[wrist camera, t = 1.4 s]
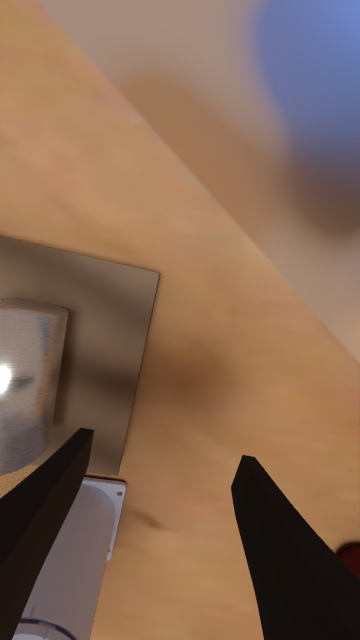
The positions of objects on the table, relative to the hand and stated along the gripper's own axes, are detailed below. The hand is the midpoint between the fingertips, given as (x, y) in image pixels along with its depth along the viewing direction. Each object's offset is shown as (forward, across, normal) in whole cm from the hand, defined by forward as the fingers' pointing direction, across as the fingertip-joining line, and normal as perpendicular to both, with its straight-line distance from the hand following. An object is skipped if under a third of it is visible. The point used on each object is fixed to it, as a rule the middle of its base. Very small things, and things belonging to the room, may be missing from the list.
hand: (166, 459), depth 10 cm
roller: (+5, +10, +1) cm, 11 cm away
